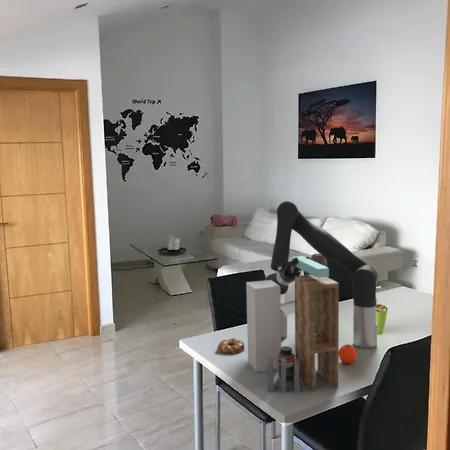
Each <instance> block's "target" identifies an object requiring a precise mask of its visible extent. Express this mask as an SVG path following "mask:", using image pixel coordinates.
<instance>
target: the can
mask: <svg viewBox="0 0 450 450" xmlns="http://www.w3.org/2000/svg"><path fill="white" fill-rule="evenodd" d="M287 335H288V313H287V312H286V309H284V308H281V339H285V338H286V336H287Z"/></svg>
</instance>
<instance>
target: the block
mask: <svg viewBox="0 0 450 450" xmlns="http://www.w3.org/2000/svg"><path fill="white" fill-rule="evenodd" d="M295 257H297V258H298V264H297V265H296V267H298V268H300V269H302V271H303V272H306V273H307V274H308V275H310V274H311V275H313V276H315V277H317V278H322V277H328V278H330V268H329V267H328V266H327V267H326V266H323V265H321V264H319V263H317V262H314V261H312V260H310V259H311V258H310V259H308V258H306V257H307V256H304V255H297V256H292V257H291V258H292V259H291V260H293V259H294V258H295Z"/></svg>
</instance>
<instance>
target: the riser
mask: <svg viewBox="0 0 450 450" xmlns="http://www.w3.org/2000/svg"><path fill="white" fill-rule="evenodd" d="M264 280H265V279H264ZM264 280H255V281H246V282H245V284H246V285H245V286H246V287H245V288H246V289H245V290H246V322H247V325H246V329H247V332H246V333H247V362H248V364H249V365H250V367H252V369H253V370H254V371H255V372H256V373H261V372H268V358H273V371H274V370H278V354H279V353H280V352H281V347H282V338H281V309H282V307H281V294H280V286H279V285H278V284H276V283H275V282H273V281H272V280H265V281H264Z"/></svg>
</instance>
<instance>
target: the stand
mask: <svg viewBox="0 0 450 450" xmlns="http://www.w3.org/2000/svg"><path fill="white" fill-rule="evenodd" d="M339 284H340V283H339V282H337V281H335V280H334V279H331V278H330V277H322V278H317V277H315V276H313V275H310V274H306V275H303V274H302V275H300V276H295V281H294V332H295V333H294V335H295V337H294V339H295V341H294V342H295V343H294V345H295V347H294V348H295V349H294V350H295V351H294V357H295V359H299V381H301V382H302V383H303V384H304V385H305V386H306V387H307V388H308V390H310V391H311V392H315V391H316V365H315V364H316V358H315V357H316V356H315V355H316V354H317V372H318V373H319V374H320V375H321V377H322V378H324V379H325V380H326V381H328V383H329V384H330V385H332V386H333V387H334V388H339V354H338V352H339V349H340V347H339V345H340V344H339V340H340V339H339V336H340V335H339V332H340V331H339V330H340V329H339V323H340V322H339V320H340V319H339V318H340V317H339V316H340V315H339V310H340V309H339V308H340V307H339V306H340V303H339V300H340V299H339V298H340V296H339V294H340V292H339V290H340V289H339V287H340V286H339ZM315 290H317V333H315Z"/></svg>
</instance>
